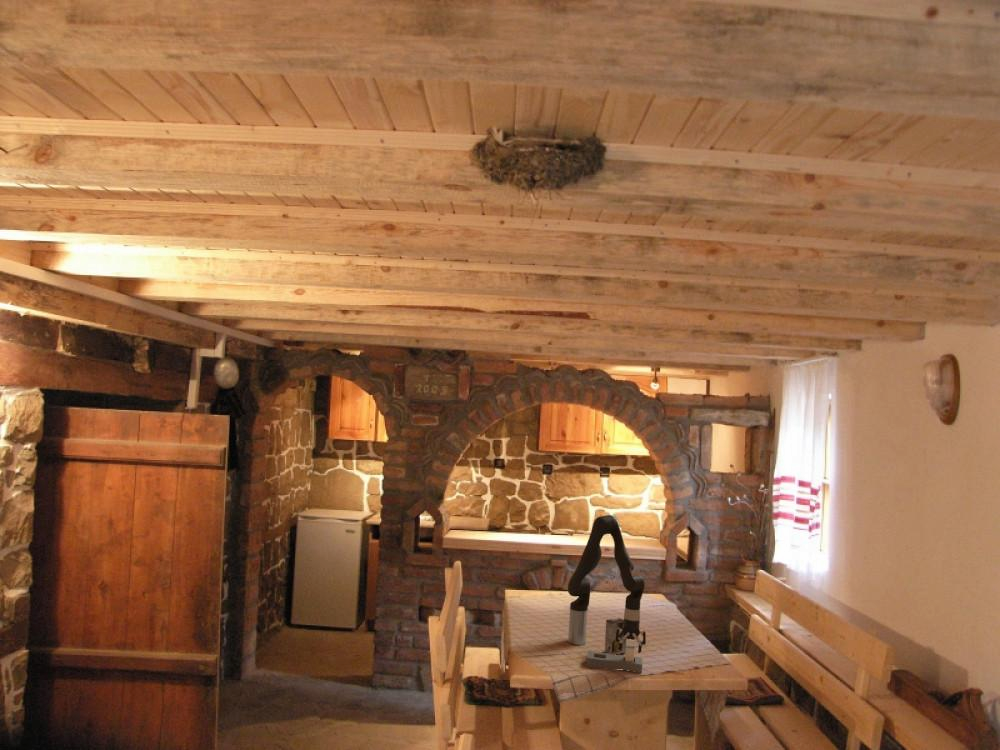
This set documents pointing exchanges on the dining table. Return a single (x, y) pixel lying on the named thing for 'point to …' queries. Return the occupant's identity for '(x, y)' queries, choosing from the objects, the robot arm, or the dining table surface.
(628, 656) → the plug
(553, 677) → the dining table surface
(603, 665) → the jack board
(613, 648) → the coffee box
